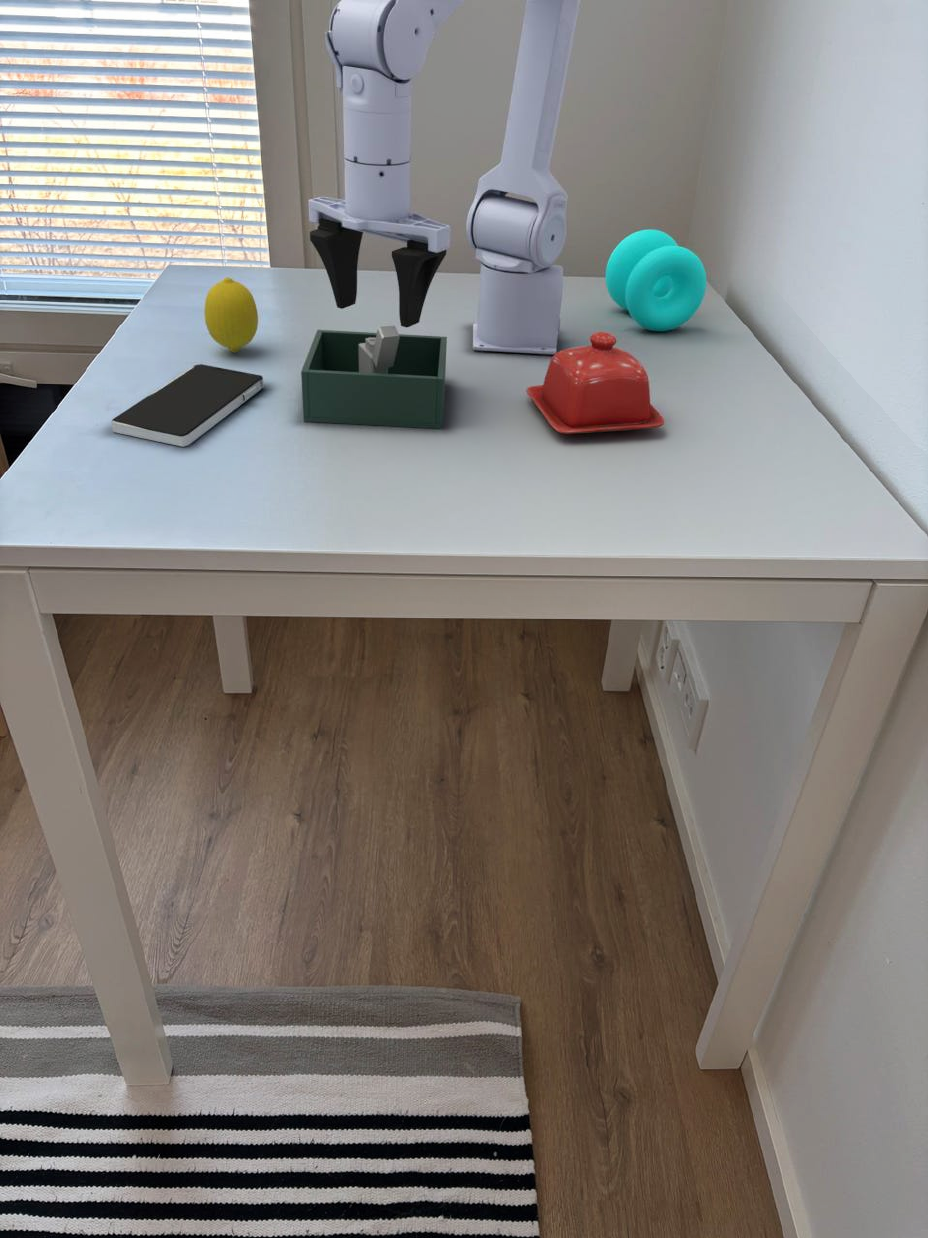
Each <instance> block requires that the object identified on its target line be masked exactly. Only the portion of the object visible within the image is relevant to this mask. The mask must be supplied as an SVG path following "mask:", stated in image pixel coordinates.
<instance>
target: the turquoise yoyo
mask: <svg viewBox="0 0 928 1238" xmlns="http://www.w3.org/2000/svg"><path fill="white" fill-rule="evenodd" d="M605 286H606V289H607V292H608V294H609V296H610V298H611V299H612V300H613V302H614V303H616V305H617V306H619V307H620V308H622V309H623V310H626V311H628V313H629V315H630V317H631V318H632V319H633V321H634V322H635V323H636V324H638V325H639V326H640V327H642V328H644V329H645V330H649V331H653V332H666V331H671V330H675V329H676V328H678V327H680V326H682V325H683V324H685V323H686V322H687V321H689V320H690V319H691V318H693V316H694V315H695V314H696V313H697V312H698V309H699V308H700V307H701V305H702V302H703V300H704V298H705V295H706V290H707V273H706V270H705V266H704V264H703V262H702V261H701V259H700V258H699V256H698V255H697V254H696V253H694V252H693V251H692V250H690V249H688V248H686V247H683V246H680V245H678V243H677V241H676V240H675V239H674V238H673V237H672V236H670V235H669V234H668V233H666V232H664V231H662V230H659V229H642V230H638V231H636V232H633V233H631V234H629V235H628V236H626V237H624V238H623V239H622V240H621V241H620V242H619V243H618V244H617V245H616V247H615V248H614V249H613V251H612V252H611V254H610V257H609V259H608V261H607V264H606V267H605Z"/></svg>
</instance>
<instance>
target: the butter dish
mask: <svg viewBox="0 0 928 1238" xmlns="http://www.w3.org/2000/svg"><path fill="white" fill-rule="evenodd" d="M589 341H590V343H591V345H583V346H575V347H570V348H566V349H563V350H559V351H556V354H553V356H552V357H551V359H550V361H549V364H548V368H547V370H546V374H545V377H544V380H543V384H538V385H530V386H528V387H527V388H526V390H525V391H526V394H527V395H528V397H529V398H530V400H531V401H532V402H533V403H534V405H535V406H536V407H537V409H538V410H539V411H540V412H541V414H542V415H543V416H544V418H545V419H546V422H548V424H549V425H550V426H551V427H552V428H553V429H554V431H556V432H558V433H560V434H566V435H570V434H571V435H572V434H590V433H591V434H592V433H603V432H604V433H605V432H617V431H618V432H619V431H633V430H641V429H654V428H659V427H662V426H664V425H665V423H666V421H665V419H664V417H663V416H662V415H661V414H660V412H659V411H658V410H657V409H656V408H655V407H654V406H653V405H652V404H651V393H650V392H651V390H650V381H649V375H648V373H647V370H646V369H645V368H644V366H643V365H642V364H641V362H640V361H639V360H638V359H637V358H635V356H633V355H632V354H630V353H629V352H628V351H626V350H624V349H621V348H619V347H615V345H616V344H617V338H616V336H615V335H613V334H612V333H610V332H605V331H597V332H594V333H592V334H591V335H590V337H589Z"/></svg>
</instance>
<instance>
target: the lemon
mask: <svg viewBox="0 0 928 1238" xmlns="http://www.w3.org/2000/svg"><path fill="white" fill-rule="evenodd" d="M204 301H205V302H204V309H203V310H204V312H203V313H204V321H205V325H206V326H205V327H206V329H207V331H208V334H209V336H210V337H211V338H212V340H214V342H215V343H217V344H218V345H220V346H222V347H224V348H227V349H228V350H229V351H230V352H231V353H238V352H239V351H240V350H241V348H242V347H246V346H247V345H248V344H250V343H251V342H252V341H253V339H254V338H255V336H256V334H257V331H258V325H259V315H258V308H257V305H256V301H255V298H254V296H253V294H252V293H251V291H250V290H249V289H248V287H246V286H245V285H244V284H242V283H241V282H240V281H239V282H238V281H236V280H233V278H232V277H224V279H223V280H221V281H219V282H217V283H215V284H214V285H213V286H212V287H211V288H210V289H209V290H208V292H207V295H206V298H205V300H204Z"/></svg>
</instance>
